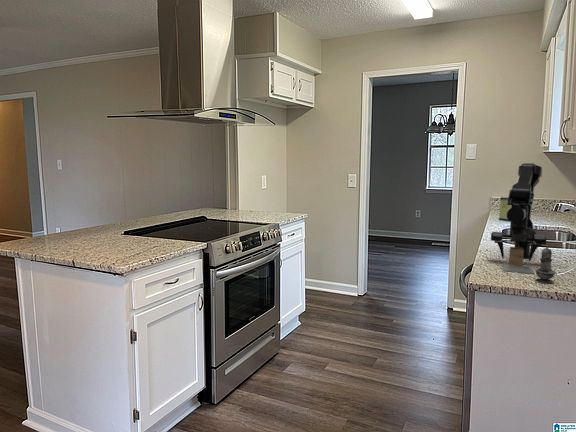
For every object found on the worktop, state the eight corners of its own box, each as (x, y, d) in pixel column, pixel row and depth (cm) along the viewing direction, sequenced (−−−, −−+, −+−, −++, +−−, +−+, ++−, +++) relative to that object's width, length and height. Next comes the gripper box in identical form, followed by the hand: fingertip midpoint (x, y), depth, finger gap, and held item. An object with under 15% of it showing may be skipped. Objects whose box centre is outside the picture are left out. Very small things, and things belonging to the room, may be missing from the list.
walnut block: (509, 261, 175) (510, 246, 175) (521, 262, 174) (522, 247, 173) (509, 264, 171) (510, 249, 171) (522, 265, 170) (523, 250, 169)
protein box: (508, 219, 303) (509, 196, 301) (530, 222, 289) (532, 198, 287) (498, 220, 298) (500, 197, 296) (520, 223, 284) (522, 198, 282)
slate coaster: (502, 265, 169) (502, 264, 169) (531, 268, 165) (531, 267, 165) (503, 271, 160) (503, 270, 160) (534, 274, 156) (534, 273, 156)
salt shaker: (547, 279, 150) (550, 244, 149) (558, 283, 144) (561, 247, 143) (530, 279, 150) (533, 244, 148) (540, 284, 144) (543, 247, 142)
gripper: (492, 221, 167) (489, 261, 169) (549, 224, 159) (546, 266, 161) (492, 217, 177) (489, 255, 179) (545, 220, 169) (542, 260, 171)
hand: (516, 259), depth 172 cm, fingers open, 9 cm apart
